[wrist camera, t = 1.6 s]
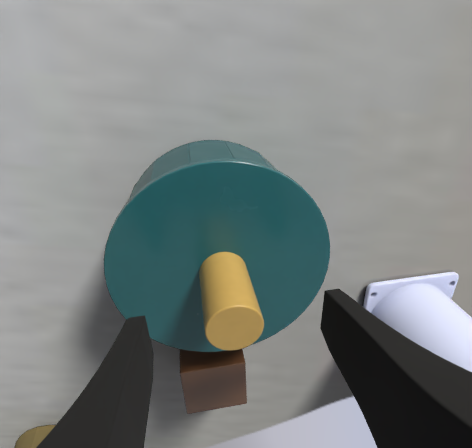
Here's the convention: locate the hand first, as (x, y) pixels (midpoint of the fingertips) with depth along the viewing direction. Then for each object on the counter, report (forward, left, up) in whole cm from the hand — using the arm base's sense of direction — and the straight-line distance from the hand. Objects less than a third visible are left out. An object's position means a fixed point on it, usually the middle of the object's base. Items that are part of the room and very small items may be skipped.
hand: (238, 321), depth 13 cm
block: (-11, +1, -10) cm, 15 cm away
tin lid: (0, 0, -4) cm, 4 cm away
